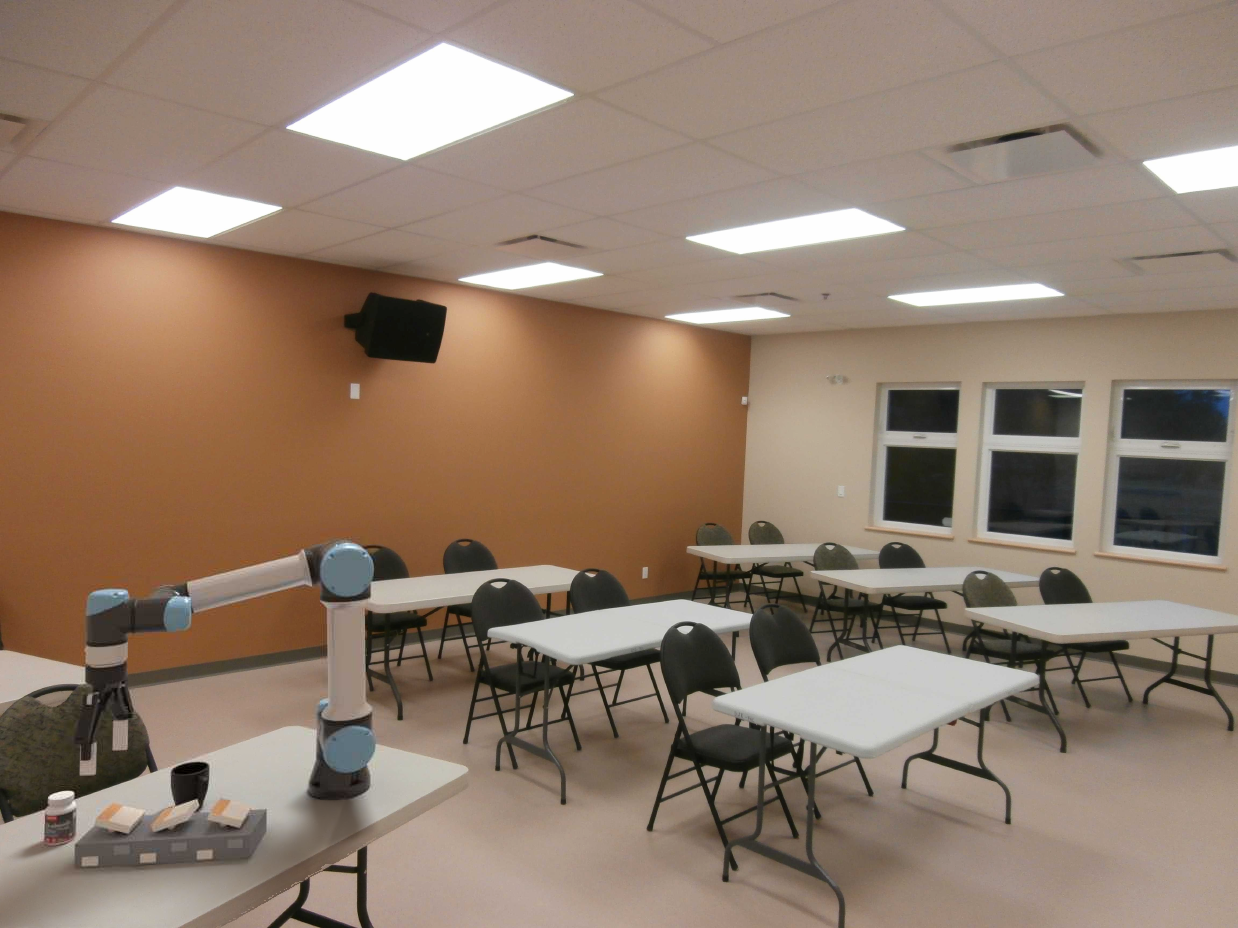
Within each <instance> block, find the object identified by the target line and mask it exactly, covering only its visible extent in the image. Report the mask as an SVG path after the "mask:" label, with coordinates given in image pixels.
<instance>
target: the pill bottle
mask: <svg viewBox="0 0 1238 928" xmlns="http://www.w3.org/2000/svg"><path fill="white" fill-rule="evenodd" d="M73 800H75V792H74V791H72V790H64V791H63V790H62V791H59V792H55V793H52V794H50V795H48V798H47V807H46V808H45V811H44V834H43V836H44V837H43V843H44V844H45V845H46V846H52V847H53V846H60V845H64V844H67V843H69V842H71V841H73V840H74V839H75V838H76V837H77V803H76V802H75V801H73Z"/></svg>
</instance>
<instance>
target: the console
mask: <svg viewBox="0 0 1238 928" xmlns="http://www.w3.org/2000/svg"><path fill="white" fill-rule="evenodd" d="M267 811H268V810H267V808H264V809H251V811H250V813H249V815H248V816H247V818H246V819H245V821H244V822H243V824H242V825H241V827H240V828H239V827H235V826H231V825H226V826H225V827H222V826H221V825H220V823H219V822H215V821H211V820H207V818H208V815H209V812H210V811H205V812H204V811H199V812H194V813H193V814H192V816H191V817H190V818H189V819H188V820H187V821H185V822H182V823H179V824H177V825H176V826H175V827H174V829H172V830H169V829H168V827H167V828H165V829H162V830H159V831H156V832H153V830H152V827H151V825H152V823H153V822H154V821H155V820H156V819H157V818H158V817H159V816H160V814H161V813H160V814H159V813H158V814H144V817H143V819H142V820H141V821H140V822H139V823H138V824H137V825H136V826H135V827H134V828H133V829H132V830H131V832H130V833H129V834H127V833H123V832H119V831H114V832H113V833H110V832H108V829H107V828H103V827H99V826H95V825H93V826H92V827H91V828H90V829H89V830H88V831H87V832H86V833H85V834H84V835H83V836H82V837H81V838H80V839H79V840H78V841H77V842H75V844H74V865H73V866H74V869H75V870H76V869H87V868H109V867H121V866H122V867H125V866H139V865H140V866H141V865H154V864H155V865H156V864H157V865H158V864H173V863H176V864H177V863H189V862H190V863H192V862H206V861H208V862H210V861H225V860H226V861H227V860H239V859H242V860H243V859H251V858H252V856H253V854H254V853H255V851H256V849H257V848H258V846H259V844H260V843H261V841H262V839H263V837H264V836H265V834H266V832H267V822H268V821H267V818H268V817H267V814H268V813H267Z"/></svg>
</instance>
